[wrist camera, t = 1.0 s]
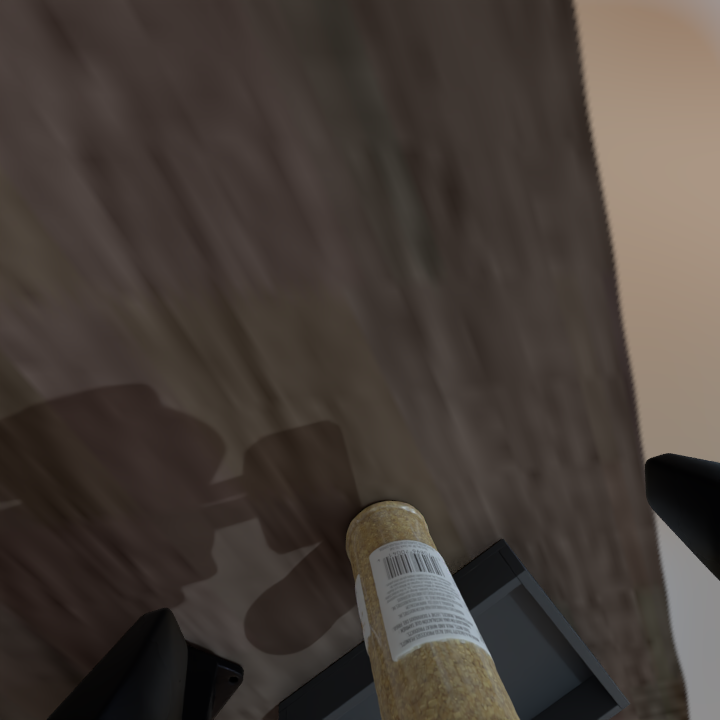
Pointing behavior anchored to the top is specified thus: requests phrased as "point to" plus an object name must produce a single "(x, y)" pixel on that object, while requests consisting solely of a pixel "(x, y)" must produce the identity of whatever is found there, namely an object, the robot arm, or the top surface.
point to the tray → (506, 646)
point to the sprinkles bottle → (418, 623)
